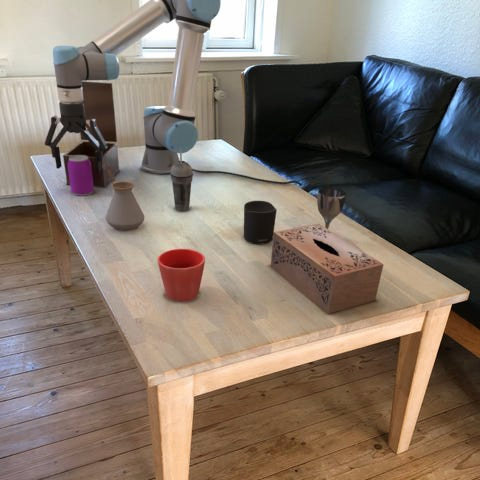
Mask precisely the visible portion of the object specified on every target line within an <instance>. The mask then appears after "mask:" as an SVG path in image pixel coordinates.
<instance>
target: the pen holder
mask: <svg viewBox="0 0 480 480" xmlns="http://www.w3.org/2000/svg"><path fill="white" fill-rule="evenodd" d="M277 210H278V209H277V208H276V207H275V205H274V204H272V203H271V202H269V201H266V200H250V201H247V202H246V203H245V204H244V206H243V238H244V240H245V241H246V242H248V243H250V244H254V245H265V244H269V243H271V242H273V234H274V232H275V226H276V219H277Z"/></svg>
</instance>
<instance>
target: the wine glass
mask: <svg viewBox="0 0 480 480" xmlns="http://www.w3.org/2000/svg"><path fill="white" fill-rule="evenodd" d="M346 199H347V192H346V191H345V190H344V189H341V188H338V187H330V186H329V187H321V188H319V189H318V191H317V198H316V204H317V210H318V213H319V214H320V216H321V217H322V218H323V220H324V227H325V228H327V229H328V230H329V227H330V225H331V223H332V221H333V220H335V219H336V218H337V217H338V216H339V215H340V214H341V213H342V211H343V210H344V209H343V208H344V206H345V203H346Z"/></svg>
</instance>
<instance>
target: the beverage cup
mask: <svg viewBox="0 0 480 480" xmlns="http://www.w3.org/2000/svg"><path fill="white" fill-rule="evenodd" d="M182 154H183V153H182V151H181V148H180V153H179V160H180V161H178V162H176V163H175V164H174V165H173V166H172V168H171V173H170V174H169V175H170V180H171V183H172V193H173V199H174V200H173V201H174V202H173V203H174V207H175V208H174V209H175V211H178V212H187V211H189V210H190V205H191V193H192V192H191V191H192V181H193V176H194V171H192V169H193V168H192V166H191V164H190V163H189V162H187V161H185V160H183V155H182Z"/></svg>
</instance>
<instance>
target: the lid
mask: <svg viewBox="0 0 480 480" xmlns="http://www.w3.org/2000/svg"><path fill="white" fill-rule="evenodd" d="M82 91H83V99H84V100H83V101H82V102H83V103H84V110H85V118H86V120H91V119H95V120H96V125H97V127H98V129H99V131H100V133H101V135H102V137H103V138H104V140H105V142H106V143H117V142H118V135H117V124H116V112H115V111H116V110H115V101H114V100H115V99H114V89H113V83H112V82H101V81H100V82H99V81H88V80H87V81H82ZM85 127H86V128H87V129H88V130H89V132H90V134H91V135H92V136H93V137H94V138H95V139H96V137H95V135H94V133H93V131H92V129H91V127H90V126H89V125H88V124H86V126H85ZM79 136H80V140H81V141H88V140H87V139H86V137H85V136H84V135H82V134H81V133H79ZM96 141H97V142H98V140H97V139H96Z"/></svg>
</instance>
